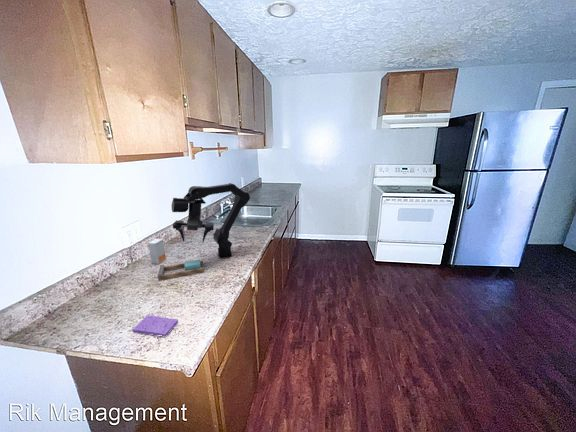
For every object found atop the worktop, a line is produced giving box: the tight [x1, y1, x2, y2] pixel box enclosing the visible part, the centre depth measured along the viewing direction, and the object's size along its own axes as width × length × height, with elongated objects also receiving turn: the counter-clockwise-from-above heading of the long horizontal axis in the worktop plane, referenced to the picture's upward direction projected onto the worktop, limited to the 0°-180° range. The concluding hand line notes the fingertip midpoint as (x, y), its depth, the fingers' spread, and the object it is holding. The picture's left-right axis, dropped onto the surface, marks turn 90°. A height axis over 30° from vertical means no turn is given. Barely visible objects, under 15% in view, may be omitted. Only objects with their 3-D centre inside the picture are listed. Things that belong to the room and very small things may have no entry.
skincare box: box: [148, 238, 167, 265], centre depth 123 cm, size 6×4×12 cm
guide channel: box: [157, 259, 205, 282], centre depth 114 cm, size 20×9×3 cm, turn 111°
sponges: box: [132, 314, 179, 337], centre depth 80 cm, size 7×13×2 cm, turn 80°
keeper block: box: [184, 259, 202, 271], centre depth 116 cm, size 7×5×4 cm
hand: (193, 241), depth 119 cm, fingers open, 9 cm apart
